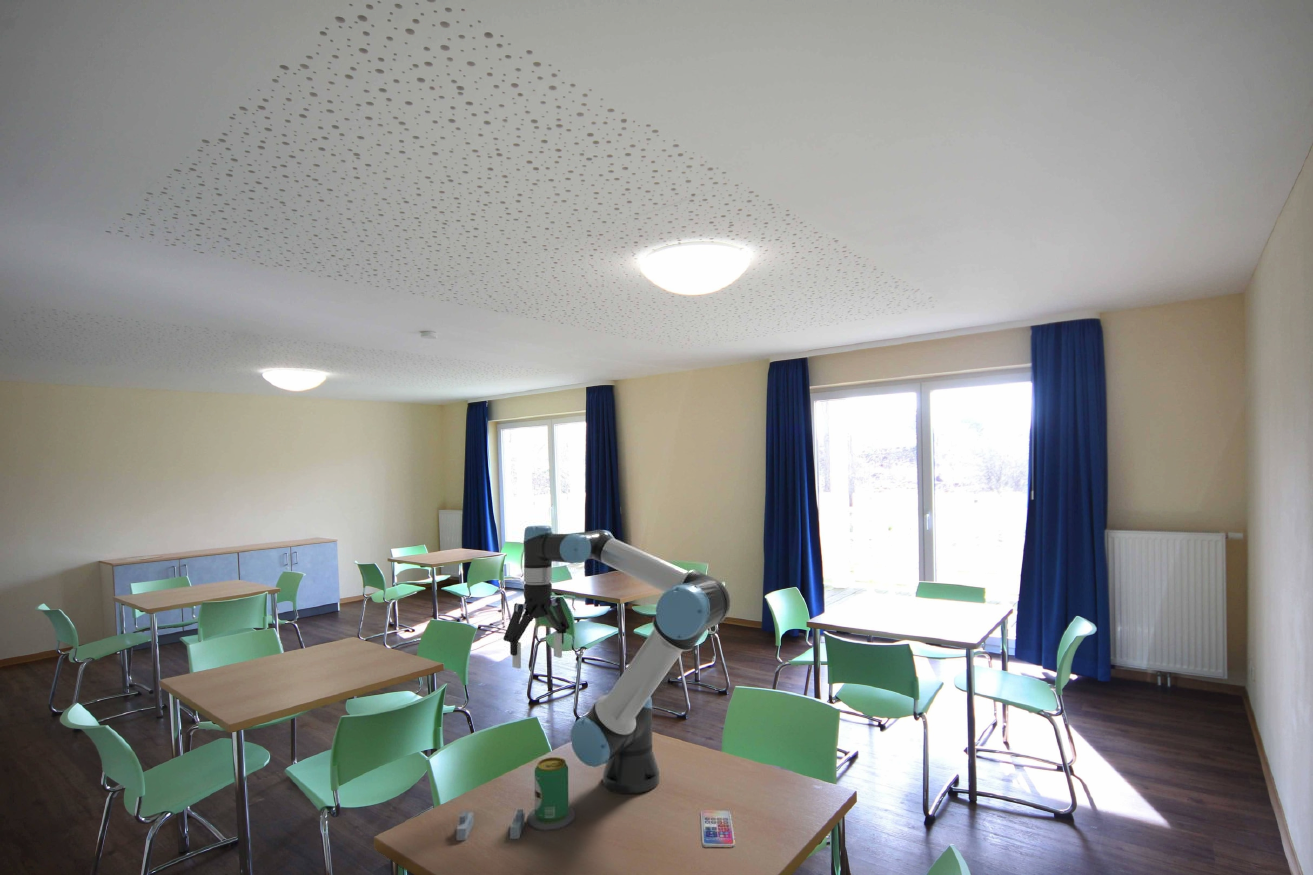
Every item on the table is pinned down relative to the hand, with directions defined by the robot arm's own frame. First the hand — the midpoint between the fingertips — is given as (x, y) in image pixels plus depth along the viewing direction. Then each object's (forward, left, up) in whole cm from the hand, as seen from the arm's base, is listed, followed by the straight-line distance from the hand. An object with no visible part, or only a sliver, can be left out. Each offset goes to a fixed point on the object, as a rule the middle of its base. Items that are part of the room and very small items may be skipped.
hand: (537, 662), depth 171 cm
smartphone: (-45, +25, -32) cm, 61 cm away
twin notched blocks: (+7, +23, -32) cm, 40 cm away
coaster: (-6, +18, -32) cm, 37 cm away
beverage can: (-6, +18, -31) cm, 37 cm away
